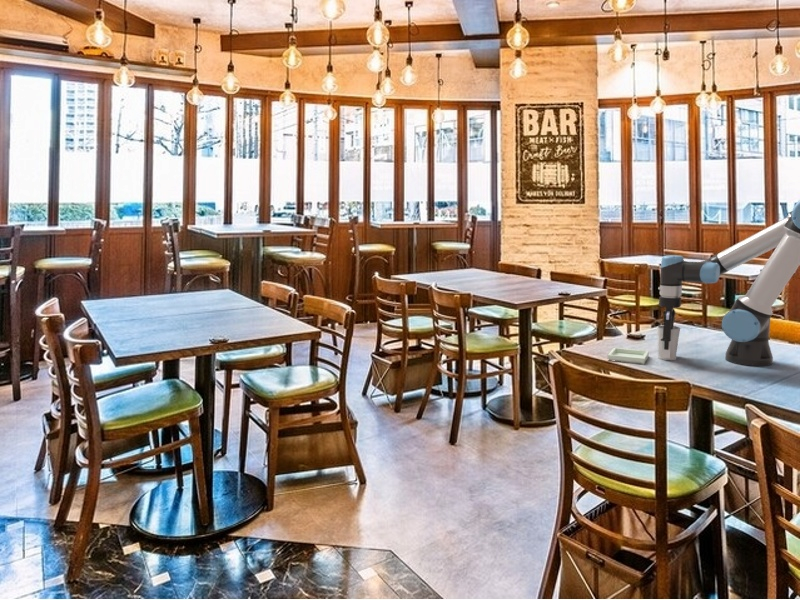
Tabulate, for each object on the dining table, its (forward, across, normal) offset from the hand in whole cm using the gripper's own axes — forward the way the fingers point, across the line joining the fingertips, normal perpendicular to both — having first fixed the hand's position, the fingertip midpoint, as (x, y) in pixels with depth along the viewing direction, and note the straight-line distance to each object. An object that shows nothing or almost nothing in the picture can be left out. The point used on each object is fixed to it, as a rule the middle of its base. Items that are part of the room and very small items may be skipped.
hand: (667, 355), depth 221 cm
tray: (+1, +7, -13) cm, 15 cm away
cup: (+1, 0, 0) cm, 1 cm away
